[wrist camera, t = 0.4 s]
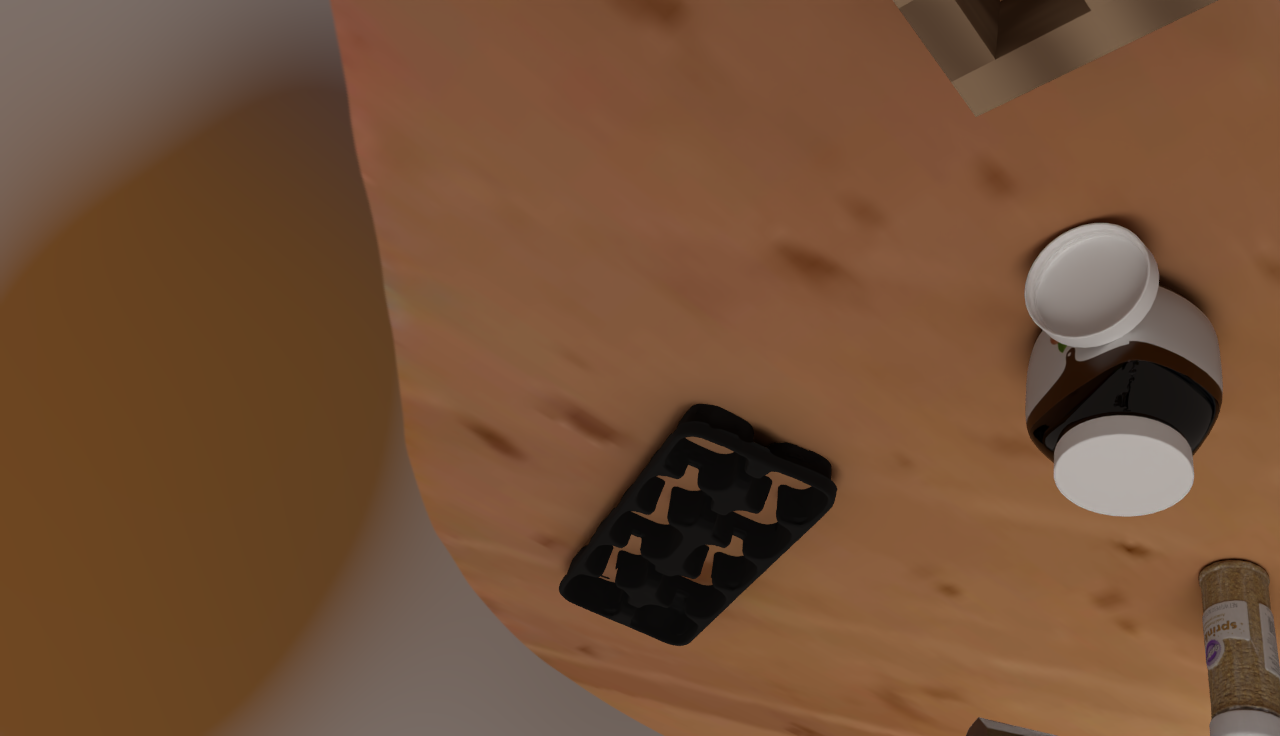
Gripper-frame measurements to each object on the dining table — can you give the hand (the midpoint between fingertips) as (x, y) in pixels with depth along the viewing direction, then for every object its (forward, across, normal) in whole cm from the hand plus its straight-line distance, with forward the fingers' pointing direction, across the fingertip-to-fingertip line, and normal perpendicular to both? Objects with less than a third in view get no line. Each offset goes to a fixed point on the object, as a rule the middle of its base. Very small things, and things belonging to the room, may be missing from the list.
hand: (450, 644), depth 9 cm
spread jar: (+59, -21, +21) cm, 66 cm away
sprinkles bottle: (+65, -38, +43) cm, 87 cm away
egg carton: (+69, 0, +52) cm, 86 cm away
